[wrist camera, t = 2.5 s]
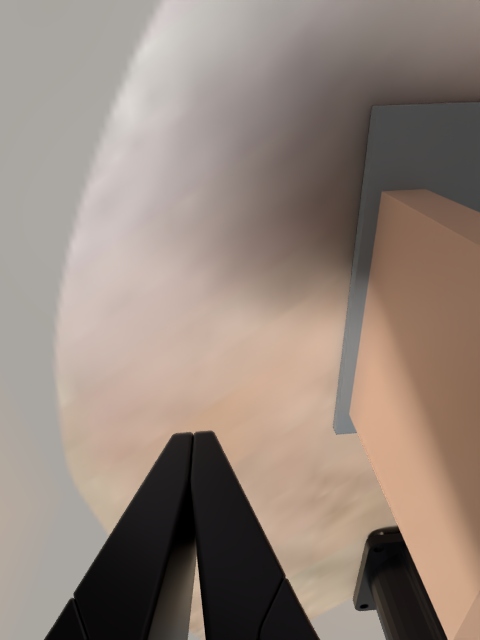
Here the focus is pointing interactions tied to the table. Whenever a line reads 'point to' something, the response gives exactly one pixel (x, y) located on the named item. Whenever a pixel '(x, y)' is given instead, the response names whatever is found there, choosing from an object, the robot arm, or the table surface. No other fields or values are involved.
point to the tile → (426, 392)
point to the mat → (405, 174)
